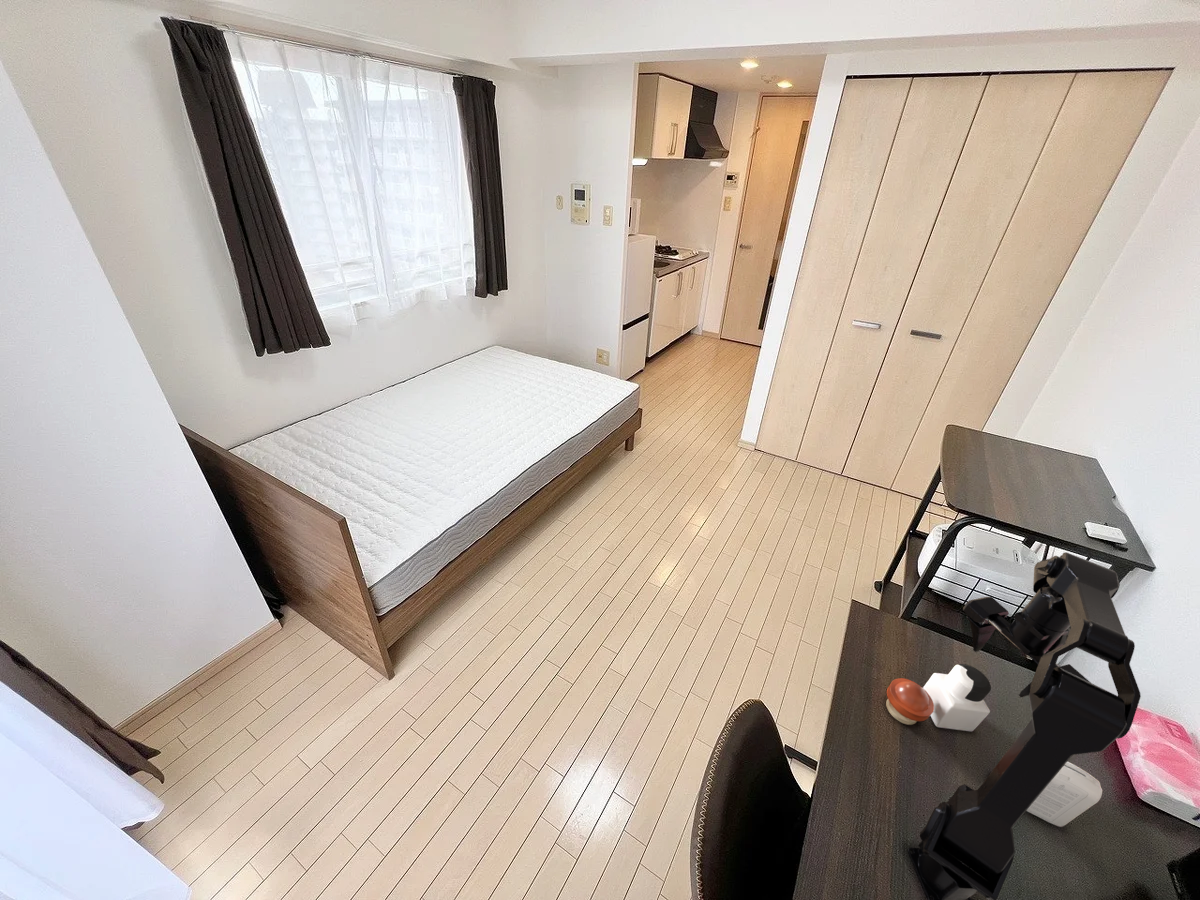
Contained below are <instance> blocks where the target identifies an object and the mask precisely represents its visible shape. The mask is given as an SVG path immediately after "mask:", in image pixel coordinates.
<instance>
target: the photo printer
mask: <svg viewBox="0 0 1200 900" xmlns="http://www.w3.org/2000/svg"><path fill="white" fill-rule="evenodd" d="M1102 796H1103V789H1102V787H1101V782H1100V781H1099V780H1098V779H1097V778H1096V777H1094V776H1093V775H1091V774H1090V773H1088V771H1086V770H1084V769H1082V768H1081V767H1078V765H1076V764H1074V763H1071V762H1070V761H1067V762H1066V764H1065V765H1064V766H1063V767H1062V768H1061V770H1060V771H1059V772H1058V773H1057V774H1056V776H1055V777H1054V778H1053V779H1052V780H1051V782H1050V783H1049V784H1048V785H1047V786H1046V788H1045V789H1044V790H1043V791H1042V792H1041V794H1040V795H1039V796H1038V797H1037V798H1036V800H1035V801H1034V802H1033V803H1032V804H1031V806H1030V807H1029V808H1028V809H1027V810H1026V812H1027V813H1029V814H1031V815H1034V816H1036V817H1038V818H1039V819H1041V820H1043V821H1045V822H1047V823H1049V824H1051V825H1054V826H1056V827H1059V828H1063V827H1065V826H1066V825H1068V824H1069V823H1070V822H1071V821H1073V820H1074V819H1076V818H1077V817H1078V816H1080V815H1081V814H1083V813H1084V812H1086V811H1087V810H1088V809H1090V808H1092V807H1093V806H1094V805H1095V804H1097V803H1099V801H1100V800H1101V798H1102Z"/></svg>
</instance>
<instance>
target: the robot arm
mask: <svg viewBox="0 0 1200 900" xmlns="http://www.w3.org/2000/svg"><path fill="white" fill-rule="evenodd" d="M1120 583H1121V582H1120V580H1119V577H1118V574H1117V572H1116V571H1115V570H1113V569H1110V568H1108V567H1106V566H1103V565H1100V564H1097V563H1094V562H1093V561H1090V560H1087V559H1084V558H1083V557H1081V556H1077V555H1074V554H1072V553H1071V552H1070V553H1069V552H1067V551H1066V552H1063V553H1062V554H1061V555H1060V556H1058V555H1054V556H1052V557H1050V558H1046V559H1043V560H1039V561H1037V562H1036V563H1035V565H1034V568H1033V583H1032V584H1033V586H1032V590H1033V592H1034V593H1035V594H1034V595H1033V596H1032V598H1031V599H1030V600H1029V601H1028V603H1027V604H1026V605H1025V606H1024V608H1022V610H1021V611H1017V612H1016V613H1015V614H1013V618H1014V620H1013V621H1012V622H1011V623H1010V622H1008V621H1007V620H1006V619H1005V618H1007V617H1008V616H1009V614H1010V613H1009V612H1010V611H1008V610H1007V609H1006V608H1005V607H1004V606H1003V605H1002V604H1001V603H999V602H998V601H997V600H996V599H995V598H994V597H992V596H985V597H984V596H983V597H979V598H974V599H970V600H968V601H967V602H965V605H964V606H963V607H962V611H963V612H964V613H965V614H966V619H967V620H968V621H969V624H970V629H971V636H972V651H974V652H975V653H978V652H980V651H981V650H982V649H983V648H984V647H985V645H986V644H987V642H988V641H989V640H990V638H991V636H992V635H993V633H994V632H995V631H996V630H997V631H998V632H1000V634H1002V636H1004V637H1005V638H1006V639H1007V640H1008V641H1009V642H1010V643H1012V645H1014V646H1015V647H1016V648H1017V649H1018V650H1019V651H1020V652H1021V651H1022V653H1024V654H1025V656H1027V657H1028V658H1030V659H1031V660H1032V661H1034V663H1036V664H1037V667H1036V670H1035V672H1034V675H1033V677H1032V680H1031V682H1029V683H1028V684H1027V685H1026V686H1025V687H1024V688H1023V689H1022V690H1021V691H1020V693H1019V694H1018V696H1019V698H1024V697H1027V696H1028V699H1029V706H1030V707H1029V708H1030V712H1031V719H1030V720H1029V722H1028V723H1027V725H1026V726H1025V727H1024V728H1023V730H1022V731H1021V732H1020V734H1019V735H1018V736H1017V738H1016V739H1015V740H1014V741H1013V742H1012V744H1011V745H1010V747H1009V748H1008V749H1007V751H1006V752H1005V754H1003V756H1002V758H1001V759H1000V760H999V761H998V763H997V764H996V765H995V766H994V768H993V769H992V771H991V772H990V773H989V774H988V776H987V777H986V778H985V780H983V783H982V784H981V785H980V786H979V787H978V789H973V788H972V787H970V786H968V785H967V784H966V783H965V784H961V785H959V786H958V787H957V788H956V791H955V792H954V793H953V795H952V796H950V797H949V798H948V800H947V802H946V801H942V802H940V803H939V804H938V805H937V807H934V809H933V811H932V813H931V815H930V816H929V818H928V821H927V822H926V825H925V827H923V828H922V830H921V831H920V832H919V837H920V839H921V841H920V842H919V843H918V847H908V848H907V850H906V852H907V855H908V856H909V859H910V862H911V863H912V866H913V868H914V871H915V873H916V875H917V878H918V880H919V883H920V885H921V887H922V889H923V892H924V895H925V897H926V899H927V900H973V899H972V896H973V895H975V894H976V893H979V894H981V895H982V896H984V898H985V899H986V900H997V899H998V898H999V894H1000V892H1001V891H1002V888H1003V886H1004V883H1005V880H1006V878H1007V876H1008V874H1009V871H1010V869H1011V867H1012V865H1013V861H1014V858H1015V857H1014V856H1015V853H1016V849H1015V839H1014V829H1013V827H1014V826H1015V825H1016V824H1017V823H1018V821H1019V820H1020V819H1021V818H1022V817H1023V815H1024V814H1025V813H1026V812H1027V811H1026V810H1027V809H1028V808H1029V807H1030V806H1031V804H1032V803H1033V802H1034V801H1035V800H1036V798H1037V797H1038V796H1039V795H1040V794H1041V792H1042V791H1043V790H1044V789H1045V788H1046V786H1047V785H1048V784H1049V783H1050V782H1051V780H1052V779H1053V778H1054V777H1055V776H1056V774H1057V773H1058V772H1059V771H1060V770H1061V768H1062V767H1063V766H1064V765H1065V764H1066V762H1069V760H1070V759H1071V758H1072V757H1073V756H1074V755H1084V754H1091V753H1093V754H1094V753H1099V752H1104V751H1105V750H1106V749H1107V748H1108V747H1109V746H1110V745H1112V743H1114V742H1115V741H1116V740H1117V739H1123V738H1124V737H1125V736H1127V734H1128V733H1129V732H1130V730H1131V728H1132V725H1133V722H1134V719H1135V717H1136V713H1137V709H1138V706H1139V704H1140V700H1141V697H1142V696H1141V691H1140V689H1139V685H1138V683H1137V681H1136V677H1135V675H1134V672H1133V670H1132V667H1131V661H1132V658H1133V655H1134V652H1135V642H1134V641H1133V640H1132V639H1130V638H1129V637H1128V636H1127V635H1126V633H1125V630H1124V627H1123V625H1122V623H1121V620H1120V617H1119V615H1118V612H1117V609H1116V607H1115V605H1114V602H1113V598H1114V597H1115V596H1116V594H1117V593H1118V591H1119V589H1120ZM1074 649H1078V650H1081V651H1083V652H1085V653H1088V655H1091V656H1094V657H1096V658H1098V659H1100V660H1103V661H1105V662H1107V667H1108V670H1109V673H1110V675H1111V678H1112V681H1113V685H1114V687H1115V690H1116V693H1117V694H1115V693H1113V692H1110V691H1108V690H1106V689H1104V688H1102V687H1100V686H1098V685H1097V684H1095V683H1092V682H1091V681H1090V680H1089V679H1088V678H1086V677H1085V676H1084V675H1083V674H1082V673H1080V671H1078V670H1077V669H1076V668H1074V666H1072V665H1071V664H1070V663H1068V664H1064V665H1059V664H1058V663H1057V662H1058V659H1059V657H1061V656H1063V655H1065V654H1066V653H1068V652H1071V651H1072V650H1074Z"/></svg>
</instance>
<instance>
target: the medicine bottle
mask: <svg viewBox="0 0 1200 900" xmlns="http://www.w3.org/2000/svg"><path fill="white" fill-rule="evenodd" d="M922 688H923V689H924V690H925V691H926V692H927V693H928V694H929V695H930V697H931V699H932V701H933V703H934V711H933V713H932V714H931V715H930V717H931V720H932V722H933V724H934V726H935V727H936V728H941V729H947V730H949V729H950V730H957V731H964V732H974V731H975V730H976V728H977V727H978V726H979V725H980V724H981V723H982V722H983V721H984V720H985V719H986V718H987V717H988V715H989V714H990V713H991V710H990V708H989V707H988V705H987V703H986V702H985V698H986V697H987V696H988V695H989V693H990V692H991V691H992V685H991V682H990V680H989V679H988V678H987V676H986V675H985V674H984V673H983V672H982V671H981V670H979V669H978V668H976V667H975V666H972V665H969V664H966V663H958V664H955V665H954V666H953V667H952V669H951V670H950V672H949V673H948V674H947V673H939V672H933V673H932V675H931V676H929V679H928V680H927V681H926V683H925V684H924V685H923V686H922Z"/></svg>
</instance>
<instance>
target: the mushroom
mask: <svg viewBox="0 0 1200 900" xmlns="http://www.w3.org/2000/svg"><path fill="white" fill-rule="evenodd" d="M886 695H887V696H886V697H887V699H886V702H885V704H886V709H887V711H888V713H889V714H890V715H891V716H892V717H893V718H894V720H897V722H899V723H900V724H904V725H908V726H912V725H915V724H916V723H917V722H924V721H927V720H928V719H929V718H930V717H931V716H930V715H931V714H932V713H933V711H934V703H933V701H932V699H931V697H930V695H929V694H928V693H927V692H926V691H925V690H924V689H923V686H921V685H920V684H919V683H916V682H915V681H913V680H910V679H908V678H901V677H899V678H895V679H893V680H892V681H891V683H890V684H889V685H888V686H887V689H886Z"/></svg>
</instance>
